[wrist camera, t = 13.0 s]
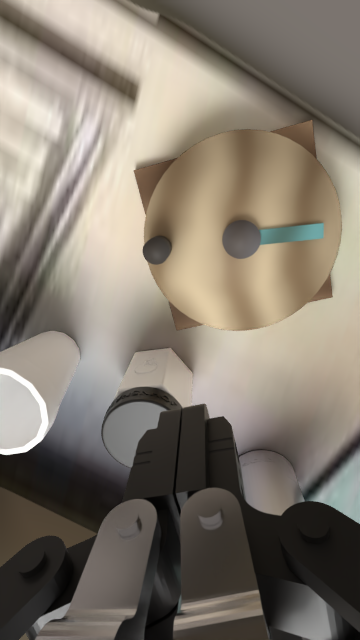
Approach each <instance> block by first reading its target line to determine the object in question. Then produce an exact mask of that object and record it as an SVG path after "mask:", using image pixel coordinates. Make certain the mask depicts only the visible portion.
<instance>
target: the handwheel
mask: <svg viewBox="0 0 360 640" xmlns="http://www.w3.org/2000/svg"><path fill="white" fill-rule="evenodd" d="M341 231H342V221H341V210H340V204H339V200H338V196H337V193H336V190H335V187H334V185H333V183H332V181H331V179H330V177H329V175H328V174H327V172H326V171H325V169H324V168H323V166H322V165H321V164H320V163H319V161H318V160H317V159H316V158H315V157H314V156H313V155H312V154H311V153H310V152H308V151H307V150H306V149H305V148H304V147H302V146H301V145H299V144H297V143H296V142H294V141H292V140H291V139H289V138H286V137H284V136H281V135H279V134H276V133H272V132H267V131H263V130H251V129H246V130H234V131H229V132H224V133H220V134H217V135H214V136H212V137H209V138H207V139H205V140H203V141H201V142H199V143H197V144H195V145H194V146H192V147H191V148H190V149H188V150H187V151H185V152H184V153H183V154H182V155H181V156H180V157H178V158H177V159H176V160H175V161H174V162H173V163H172V164H171V166H170V167H169V168H168V169H167V171H166V172H165V173H164V174H163V176H162V178H161V179H160V181H159V182H158V184H157V186H156V188H155V190H154V192H153V195H152V197H151V199H150V203H149V206H148V209H147V213H146V219H145V227H144V243H145V245H144V247H143V255H144V257H145V259H146V260H147V262H148V265H149V267H150V270H151V273H152V275H153V277H154V279H155V281H156V283H157V285H158V287H159V288H160V290H161V291H162V293H163V294H164V295H165V297H166V298H167V299H168V300H169V301H170V302H171V303H172V304H173V305H174V306H175V307H176V308H177V309H178V310H179V311H181V312H182V313H184V314H185V315H187V316H188V317H189V318H191V319H193V320H195V321H197V322H199V323H202V324H204V325H207V326H210V327H214V328H218V329H223V330H232V331H240V330H252V329H258V328H262V327H266V326H269V325H272V324H274V323H277V322H279V321H281V320H283V319H285V318H287V317H289V316H291V315H292V314H294V313H295V312H296V311H298V310H299V309H301V308H302V307H303V306H304V305H305V304H306V303H307V302H309V301H310V300H311V299H312V298H313V296H314V295H315V294H316V293H317V292H318V291H319V289H320V288H321V287H322V285H323V284H324V282H325V281H326V279H327V277H328V275H329V273H330V272H331V270H332V268H333V265H334V262H335V260H336V257H337V254H338V250H339V246H340V240H341Z"/></svg>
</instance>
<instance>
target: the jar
mask: <svg viewBox="0 0 360 640" xmlns="http://www.w3.org/2000/svg"><path fill="white" fill-rule="evenodd" d="M192 384H193V373H192V372H191V371H190V370H189V368H188V367H187V366H186V365H185V364H184V363H183V362H182V360H181V359H180V358H179V357H178V356H177V355H176V353H175V352H174V351H173V350H172V349H171V348H165V349H157V350H148V351H140V352H135V353H134V355H133V358H132V360H131V362H130V364H129V366H128V368H127V371H126V373H125V375H124V377H123V379H122V381H121V384H120V386H119V388H118V390H117V393H116V395H115V398H114V401H113V402H112V404H111V406H109V409H108V410H107V412H106V414H105V417H104V421H103V424H102V431H101V434H102V440H103V443H104V446H105V448H106V449H107V451H108V452H109V454H110V455H111V456H112V457H113V458H114V459H115V460H116V461H118V462H119V463H121V464H122V465H124V466H126V467H129V468H131V467H132V466H133V460H134V456H136V455H135V453H136V449H137V445H138V442H139V440H140V439H141V438H142V436H143V435H144V434H145V432H146V431H147V430H149V429H155V428H157V426H158V421H159V416H160V412H162V411H168V410H173V409H179V408H184V407H189V406H191V402H192Z"/></svg>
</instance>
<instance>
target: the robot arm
mask: <svg viewBox="0 0 360 640" xmlns="http://www.w3.org/2000/svg"><path fill="white" fill-rule="evenodd" d="M135 455H136V456H134V460H133V466H132V467H131V471H130V475H129V479H128V482H127V486H126V490H125V493H124V497H123V501H122V504H120V505H118V506H117V507H115V508H114V509H113V510H112V511H111V512H110V513H109V514H108V515H107V516H106V518H105V519H104V521H103V523H102V525H101V527H100V530H99V532H98V534H97V535H96V536H94V537H92V538H90V539H87V540H85V541H83V542H81V543H78V544H76V545H74V546H72V547H69V548H67V549H66V546H65V544H64V542H63V541H62V540H61V539H60V538H59V537H56V536H45V537H41V538H38V539H36V540H34V541H32V542H31V543H29V544H27V545H26V546H25V547H24V548H22V549H21V550H20V551H19V552H18V553H17V554H15V555H14V556H13V557H12V558H11V559H9V560H8V561H7V562H6V563H5V564H4V565H3V566H1V567H0V640H19V639H20V638H21V636H23V635H24V634H25V633H26V635H27V637H28V638H29V640H360V524H359V523H357V522H355V521H354V520H352V519H351V518H349V517H347V516H346V515H344V514H343V513H341V512H339V511H338V510H336V509H335V508H333V507H331V506H329V505H326V504H324V503H320V502H314V501H304V498H303V495H302V492H301V489H300V486H299V484H298V481H297V478H296V475H295V472H294V470H293V467H292V465H291V464H290V462H289V461H288V460H287V459H286V458H284V457H283V456H282V455H280V454H278V453H275V452H272V451H266V450H257V451H252V452H248V453H246V454H243V455H241V456H240V457H239V456H238V452H237V447H236V443H235V439H234V435H233V431H232V426H231V424H230V423H229V422H228V421H227V420H226V419H225V418H224V416H223V417H217V418H211V419H210V418H209V414H208V410H207V407H206V404H200V405H195V406H189V407H184V408H179V409H173V410H168V411H162V412H160V416H159V421H158V426H157V428H155V429H149V430H147V431H146V432H145V434H144V435H143V436H142V438H141V439H140V440H139V442H138V445H137V449H136V453H135Z"/></svg>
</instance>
